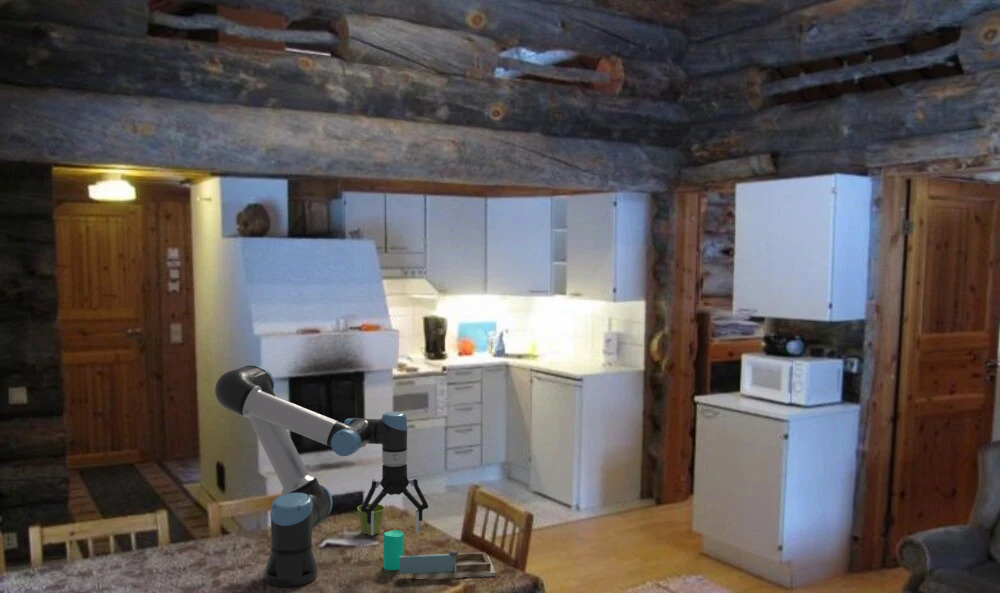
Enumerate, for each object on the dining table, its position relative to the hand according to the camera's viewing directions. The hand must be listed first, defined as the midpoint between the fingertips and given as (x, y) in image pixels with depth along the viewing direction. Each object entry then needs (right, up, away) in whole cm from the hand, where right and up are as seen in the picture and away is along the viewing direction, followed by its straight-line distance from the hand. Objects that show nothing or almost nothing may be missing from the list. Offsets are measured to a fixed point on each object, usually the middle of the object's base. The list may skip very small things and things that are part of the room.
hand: (394, 532), depth 248 cm
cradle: (+18, -11, 0) cm, 21 cm away
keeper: (+11, -10, -6) cm, 16 cm away
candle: (-1, -11, +1) cm, 11 cm away
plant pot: (-12, -9, +31) cm, 35 cm away
